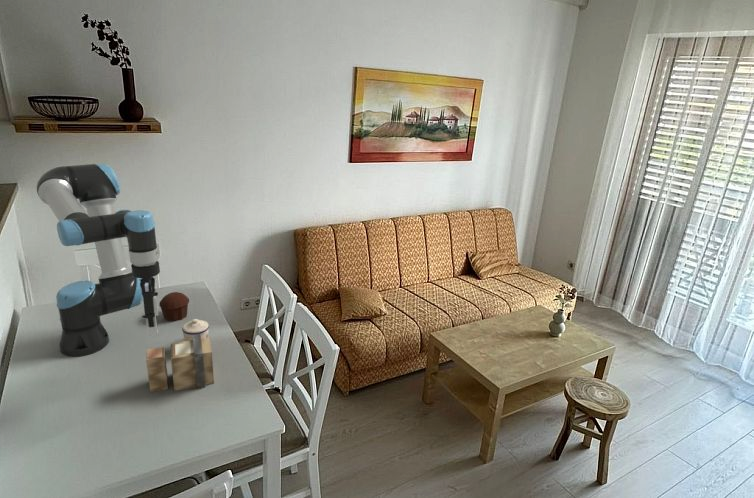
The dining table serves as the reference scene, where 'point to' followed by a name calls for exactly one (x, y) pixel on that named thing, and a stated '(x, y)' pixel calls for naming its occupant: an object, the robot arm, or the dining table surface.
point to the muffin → (174, 306)
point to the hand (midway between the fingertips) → (153, 325)
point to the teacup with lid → (195, 329)
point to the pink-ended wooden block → (157, 369)
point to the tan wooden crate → (192, 363)
